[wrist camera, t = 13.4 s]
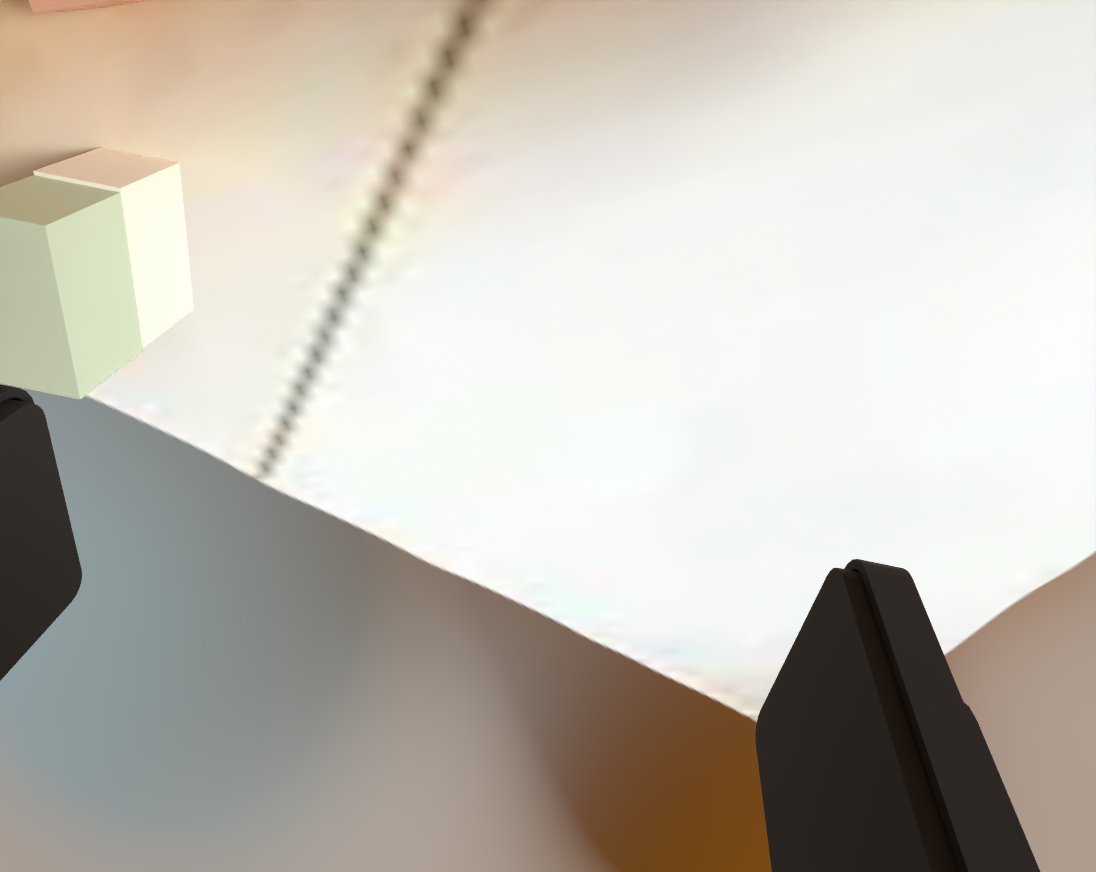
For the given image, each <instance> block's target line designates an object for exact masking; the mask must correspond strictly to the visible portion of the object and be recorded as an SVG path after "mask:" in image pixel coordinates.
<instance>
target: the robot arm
mask: <svg viewBox="0 0 1096 872" xmlns="http://www.w3.org/2000/svg"><path fill="white" fill-rule="evenodd" d="M81 579H82V571H81V566H80V562H79V557H78V553H77V549H76V545H75V540H74V536H73V532H72V528H71V523H70V519H69V515H68V511H67V507H66V503H65V498H64V494H63V489H62V485H61V481H60V477H59V472H58V468H57V464H56V460H55V455H54V451H53V447H52V443H51V439H50V434H49V430H48V426H47V422H46V418H45V415H44V412H43V410H42V409H41V408H40V407H39V406H37V405H35V404H34V402H33V399H32V397H31V396H30V395H29V394H28V393H27V392H26V391H24V390H22V389H19V388H15V387H10V386H5V385H0V680H1V679H2V678H3V677H4V676H5V675H6V674H7V673H8V671H9V670H10V669H11V668H12V667H13V666H14V665H15V664H16V663H17V662H18V660H19V659H20V658H21V657H22V656H23V655H24V654H25V653H26V652H27V651H28V649H29V648H30V647H31V646H32V645H33V644H34V643H35V642H36V641H37V639H38V638H39V637H40V636H41V635H42V634H43V633H44V632H45V631H46V629H47V628H48V627H49V626H50V625H51V624H52V623H53V622H54V621H55V620H56V618H57V617H58V616H59V615H60V614H61V613H62V612H63V610H65V608H66V607H67V606H68V605H69V604H70V603H71V602H72V600H73V599H74V597H75V596H76V594H77V592H78V590H79V587H80V584H81ZM756 749H757V755H758V756H757V757H758V764H759V772H760V780H761V788H762V796H763V804H764V812H765V820H766V827H767V836H768V843H769V851H770V859H771V867H772V872H1040V870H1039V868H1038V865H1037V863H1036V860H1035V858H1034V856H1033V853H1032V851H1031V849H1030V846H1029V844H1028V841H1027V839H1026V837H1025V834H1024V832H1023V829H1022V827H1021V825H1020V822H1019V820H1018V817H1017V815H1016V813H1015V810H1014V808H1013V806H1012V803H1011V801H1010V798H1009V796H1008V794H1007V791H1006V789H1005V786H1004V784H1003V782H1002V779H1001V777H1000V774H999V772H998V770H997V768H996V765H995V763H994V760H993V758H992V755H991V753H990V751H989V748H988V746H987V744H986V741H985V739H984V736H983V734H982V732H981V729H980V727H979V724H978V722H977V720H976V718H975V716H974V715H973V713H972V711H971V710H970V708H969V706H967V705H966V704H965V703H964V702H963V700H962V698H961V695H960V693H959V690H958V688H957V686H956V683H955V681H954V678H953V676H952V674H951V671H950V668H949V666H948V664H947V661H946V659H945V656H944V654H943V651H942V649H941V647H940V644H939V642H938V639H937V637H936V634H935V632H934V630H933V627H932V625H931V622H930V620H929V617H928V615H927V613H926V610H925V608H924V605H923V603H922V600H921V598H920V596H919V593H918V591H917V588H916V586H915V583H914V581H913V579H912V577H911V575H910V574H909V572H908V571H906V570H905V569H903V568H898V567H894V566H889V565H884V564H879V563H874V562H869V561H864V560H859V559H855V560H852V561H850V562H849V563H848V564H847V566H846V567H845V569H840V568H833V569H832V570H831V571H830V572H829V574H828V575H827V577H826V579H825V581H824V583H823V585H822V587H821V589H820V591H819V593H818V595H817V597H816V599H815V601H814V603H813V605H812V607H811V609H810V611H809V613H808V616H807V618H806V620H805V622H804V624H803V626H802V628H801V630H800V632H799V634H798V636H797V638H796V640H795V642H794V644H793V646H792V648H791V650H790V652H789V654H788V656H787V658H786V660H785V662H784V664H783V666H782V668H781V670H780V672H779V674H778V676H777V678H776V680H775V682H774V684H773V686H772V688H771V690H770V692H769V694H768V696H767V698H766V701H765V703H764V705H763V707H762V709H761V711H760V713H759V716H758V720H757V726H756Z"/></svg>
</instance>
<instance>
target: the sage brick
mask: <svg viewBox="0 0 1096 872" xmlns="http://www.w3.org/2000/svg"><path fill="white" fill-rule="evenodd" d="M141 352H143V346H142V339H141V332H140V325H139V318H138V312H137V305H136V298H135V291H134V284H133V277H132V270H131V263H130V256H129V249H128V242H127V235H126V228H125V221H124V214H123V207H122V200H121V193H120V192H116V191H111V190H106V189H101V188H96V187H91V186H86V185H81V184H76V183H71V182H66V181H61V180H56V179H51V178H46V177H41V176H36V175H32V176H29V177H26V178H23V179H21V180H18V181H15V182H12V183H9V184H7V185H4V186H1V187H0V383H2V384H6V385H11V386H16V387H21V388H26V389H31V390H36V391H41V392H46V393H50V394H55V395H60V396H65V397H70V398H75V399H82V398H83V397H84V396H86V395H87V394H88V393H89V392H91V391H92V390H93V389H95V388H96V387H97V386H99V385H100V384H101V383H102V382H104V381H105V380H106V379H108V378H109V377H110V376H111V375H113V374H114V373H115V372H117V371H118V370H119V369H121V368H122V367H123V366H124V365H126V364H127V363H128V362H130V361H131V360H132V359H133V358H135V357H136V356H137V355H139V354H140V353H141Z"/></svg>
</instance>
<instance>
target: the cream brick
mask: <svg viewBox="0 0 1096 872" xmlns="http://www.w3.org/2000/svg"><path fill="white" fill-rule="evenodd" d="M33 172H34V175H36V176H41V177H46V178H51V179H56V180H61V181H66V182H71V183H76V184H81V185H86V186H91V187H96V188H101V189H106V190H111V191H116V192H120V193H121V200H122V207H123V214H124V221H125V228H126V235H127V242H128V249H129V256H130V263H131V270H132V277H133V284H134V291H135V298H136V305H137V312H138V318H139V325H140V332H141V339H142V346H143V348H144V347H145V346H146V345H148V344H149V343H150V342H152V341H153V340H154V339H156V338H157V337H158V336H159V335H161V334H162V333H163V332H165V331H166V330H167V329H169V328H170V327H171V326H173V325H174V324H175V323H176V322H178V321H179V320H180V319H182V318H183V317H184V316H186V315H187V314H188V313H189V312H191V311H192V310H193V309H194V306H193V296H192V286H191V276H190V266H189V256H188V246H187V236H186V226H185V216H184V207H183V197H182V187H181V177H180V167H179V163H178V162H173V161H168V160H163V159H158V158H153V157H148V156H143V155H138V154H133V153H128V152H123V151H117V150H112V149H107V148H102V147H101V148H98V149H95V150H92V151H89V152H86V153H83V154H80V155H78V156H75V157H72V158H69V159H66V160H63V161H60V162H57V163H54V164H52V165H49V166H46V167H43V168H40V169H37V170H34V171H33Z"/></svg>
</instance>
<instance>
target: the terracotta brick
mask: <svg viewBox="0 0 1096 872" xmlns="http://www.w3.org/2000/svg"><path fill="white" fill-rule="evenodd" d="M28 1H29V4H30V6H31V8H32V11H33V13H34V14H37V13H48V12H59V11H69V10H80V9H91V8H102V7H110V6H116V5H122V4H128V3H134V2H140V1H146V0H28Z"/></svg>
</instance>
